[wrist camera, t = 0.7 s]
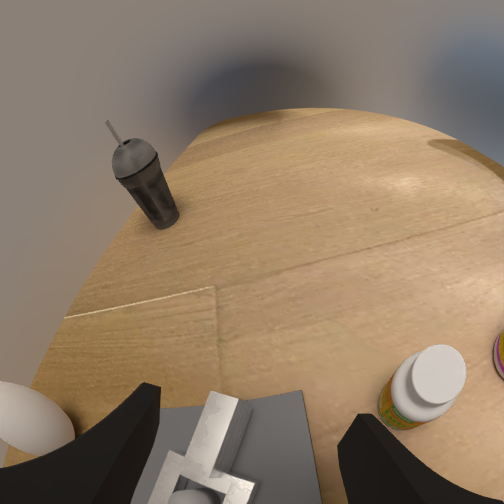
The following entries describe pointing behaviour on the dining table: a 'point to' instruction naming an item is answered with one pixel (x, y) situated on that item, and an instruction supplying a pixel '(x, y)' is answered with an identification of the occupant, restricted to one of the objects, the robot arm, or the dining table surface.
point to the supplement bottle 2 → (499, 353)
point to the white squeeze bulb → (32, 420)
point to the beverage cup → (144, 179)
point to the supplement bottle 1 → (422, 387)
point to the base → (245, 454)
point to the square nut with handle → (210, 454)
